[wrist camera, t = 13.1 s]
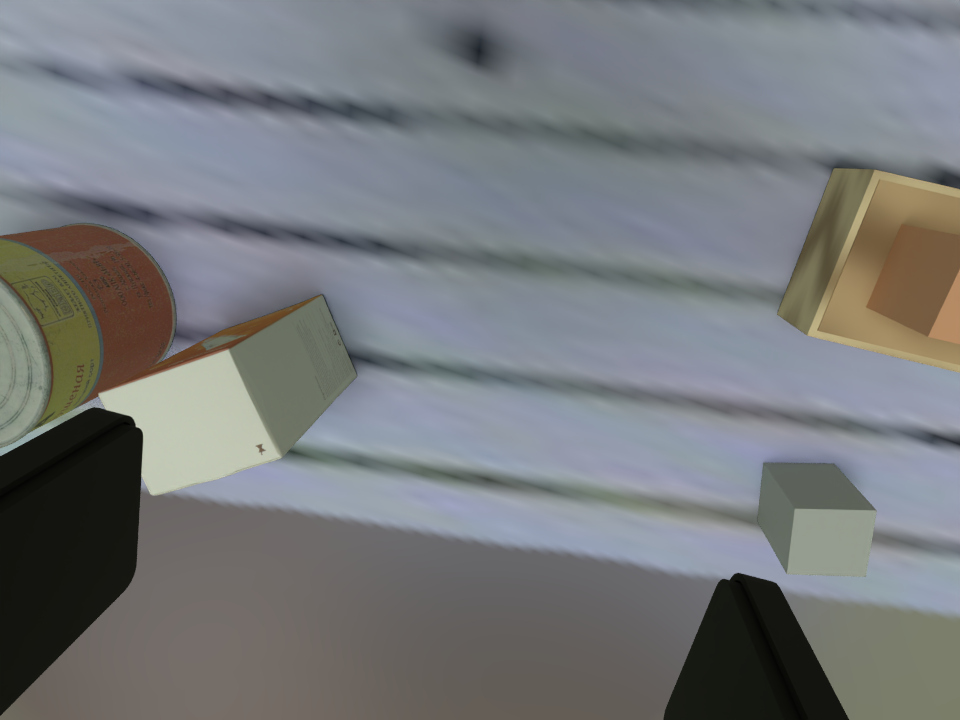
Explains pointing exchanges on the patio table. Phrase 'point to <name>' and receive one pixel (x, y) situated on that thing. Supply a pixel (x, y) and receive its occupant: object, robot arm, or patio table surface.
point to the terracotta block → (921, 283)
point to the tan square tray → (866, 262)
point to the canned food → (75, 320)
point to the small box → (235, 396)
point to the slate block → (815, 519)
